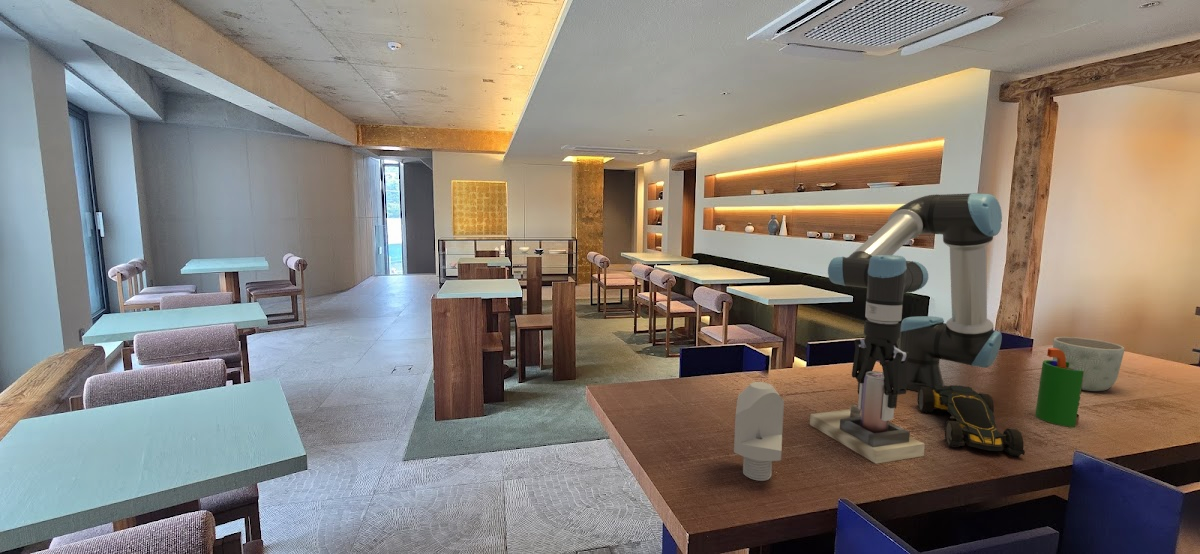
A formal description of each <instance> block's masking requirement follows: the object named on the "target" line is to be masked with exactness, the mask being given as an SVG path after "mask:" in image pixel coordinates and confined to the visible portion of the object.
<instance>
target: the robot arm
mask: <svg viewBox="0 0 1200 554" xmlns="http://www.w3.org/2000/svg"><path fill="white" fill-rule="evenodd" d="M1002 213H1003V212H1002V208H1001V205H1000V202H999V200H998V199H997V198H996V197H995V196H994V195H992V194H990V193H977V192H974V193H973V192H972V193H952V194H951V193H949V194H948V193H947V194H929V195H924V196H920V197H917V198H916V199H912V200H911V201H908V202H907V203H905V204H903V205H901V206H899V207H898V208H897V209H896V210H895V211H894V212H892V213H891V214H890V215H889V217H888V219H887V222H886V223H885V224H883V226H882V227H881V228H879V229H878V230H877V231H876V232H875V233H873V235H871V236H870V237H869V238H868V239H867V240H866V241H865V242H864V243H862V244H861V245H860V246H859V247H858V248H857V249H856V250H855V251H853V252H852V253H851V254H850V255H849V256H847V257H845V256H837V257H833V258H832V259H831V260H830V262H829V263H828V267H827V275H828V279H829V281H830V282H831V283H833V284H835V285H838V286H839V285H841V286H843V287H854V288H856V287H857V288H863V289H866V299H865V314H864V315H865V316H864V317H865V318H866V319H865V320H864V326H863V335H865V337H864V338H856V339H854V347H855V348H854V349H855V350H854V356H853V362H852V363H853V364H852V370H851V376H852V378H854V379H855V380H856V381H857V395H858V403H857V404H858V409H860V410H862V399H863V388H864V377H865V375H866V372H868V371H874V368H875V365H876V363H877V360H878V361H879V365H880V366H881V368H882V372H883V374H884V380H885V385H886V390H887V392H885V393H884V394H883V406H882V418H881V420H883V421H888V420H889V421H893V420H894V415H895V414H894V413H895V409H896V408H897V406H898V395H905V394H907V390H910V391H916V392H918V390H919V388H920V387H929V388H930V389H931V390H934V385H941V387H944V386H945V381H944V380H943V376H942V371H941V367H940V360H942V361H943V360H944V361H948V362H951V363H952V362H953V363H958V364H962V365H966V366H967V365H968V366H970V367H977V368H985V369H987V368H989V367H991V366H992V365H993V364H994V363H995V361H996V360H997V357H998V354H999V351H1000V348H1001V344H1002V341H1003V340H1002V338H1003V336H1002V332H1000V331H998V330H994V322H992V321H991V320H990V319H989V318H988V310H987V309H988V307H987V305H988V304H987V299H988V295H987V294H988V293H987V289H988V288H987V287H988V286H987V280H988V279H987V246H988V245H989V244H990V243H991V242H992V241H993V240H994V236H998V234H1000V232H1001V229H1002V222H1003V216H1002V215H1003V214H1002ZM928 234H930V235H931V234H933V235H942V241H943V243H944V245H946V246H948V247H949V263H950V265H949V266H950V269H949V270H950V300H951V301H950V303H951V318H949V319H948V320H947V321H946V323H945V319H944V318H943V317H940V316H931V315H930V316H929V315H928V316H922V315H921V316H917V315H916V316H909V317H905V318H903V317H902V315H903V303H904V294H906V293H913V292H914V293H915V292H916V291H919V290H921V289H923V287H925V286H926V284H927V283H928V282H929V281H928V280H929V273H928V270H927V268H926V267H925V266H924V264H922V263H920V262H917V261H913V260H912V261H910V260H906V258H905V256H902V255H894V254H895V253H896V252H898V251H899V250H900V248H901V247H903V246H904V245H905V244H906V243H907V242H908V241H909V240H912V239H915V238H917V237H918V236H920V235H928ZM902 318H903V319H902ZM900 322H901V323H900ZM898 340H899V342H898ZM898 343H899V344H898Z"/></svg>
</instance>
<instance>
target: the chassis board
mask: <svg viewBox="0 0 1200 554" xmlns="http://www.w3.org/2000/svg"><path fill="white" fill-rule="evenodd" d="M809 416H810V417H809V418H810V419H809V426H811V427H813V428H815V429H816V430H818V431H820V432H821V433H823V434H825V435H827V436H828V437H830V438H831V439H833V440H835V441H837V442H838V443H840V444H842V445H844V446H845V447H847V448H848V449H851V450H852V451H853V452H855V453H857V454H858V455H860V456H862V457H863V458H865V459H867V460H869V461H871V462H872V463H873V464H876V465H877V464H882V463H889V462H894V461H900V460H902V461H903V460H908V459H912V458H913V459H914V458H920V457H924V456H925V446H926V445H925V443H924V442H922V441H920V440H918V439H916V438H913V437H911V436H910V434H911V431H908V430H907V429H904V428H903V427H901V426H898V425H896V424H894V423H892V422H890V421H889V426H888V432H882V433H875V434H874V433H872V432H870V431H868V430H866V429H864V428H862V427H861V426H860V421H861V410H860V409H858V405H857V404H851V405H850V409H841V410H833V411H826V412H825V411H824V412H817V413H810V415H809Z"/></svg>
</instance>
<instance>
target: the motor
mask: <svg viewBox="0 0 1200 554" xmlns="http://www.w3.org/2000/svg"><path fill="white" fill-rule="evenodd" d="M1046 355H1047V356H1048V357H1049V358H1053V357H1057V361H1056V360H1053V359H1047V360H1042V366H1041V371H1040V372H1041V373H1040V379H1039V385H1038V393H1037V399H1036V407H1035V414H1034V415H1035V416H1036V417H1037V418H1038V419H1039V420H1042V421H1045V422H1047V423H1050V424H1053V425H1059V426H1061V427H1062V426H1064V427H1069V428H1075V427H1076V426H1078V425H1079V420H1080V415H1079V414H1078V411H1079V407H1080V401H1081V394H1082V390H1081V388H1082V382H1083V376H1084V371H1080V370H1076V369H1071V368H1069V362H1066V358H1065V354H1064V352H1063V351H1061V350H1059V349H1056V348H1053V347H1052V348H1048V349H1047V354H1046Z"/></svg>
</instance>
